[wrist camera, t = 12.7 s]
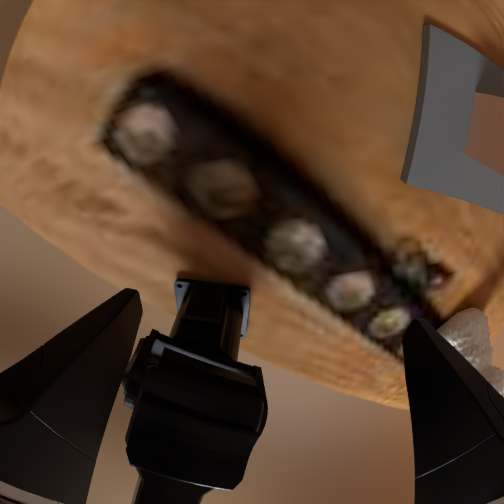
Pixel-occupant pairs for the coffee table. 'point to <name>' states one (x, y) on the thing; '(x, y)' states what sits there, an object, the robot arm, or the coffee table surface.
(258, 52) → the coffee table surface
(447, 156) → the charcoal mat
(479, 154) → the terracotta cube
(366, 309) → the coffee table surface
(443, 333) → the white creature statuette
